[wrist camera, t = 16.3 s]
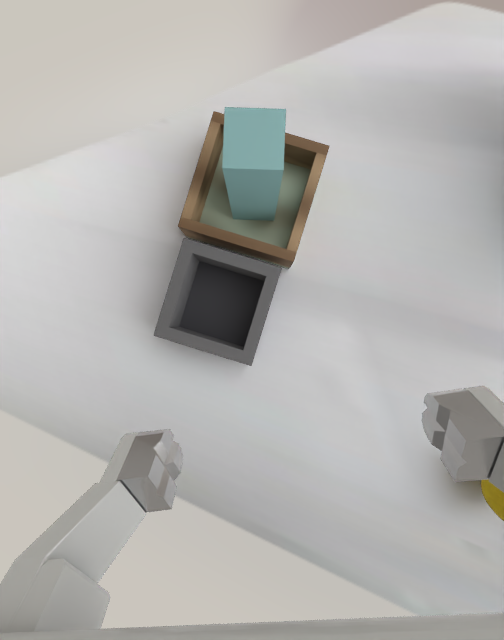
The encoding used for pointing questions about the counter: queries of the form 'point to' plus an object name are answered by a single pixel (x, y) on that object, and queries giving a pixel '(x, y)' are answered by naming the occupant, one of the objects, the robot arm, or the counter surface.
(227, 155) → the teal block
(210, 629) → the robot arm
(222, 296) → the box
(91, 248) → the counter surface
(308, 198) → the walled bay
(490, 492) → the lemon
